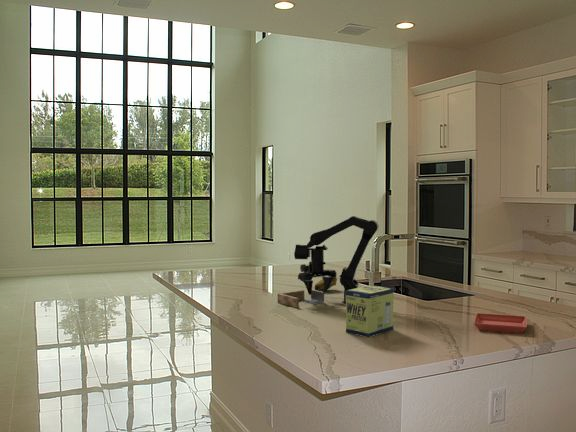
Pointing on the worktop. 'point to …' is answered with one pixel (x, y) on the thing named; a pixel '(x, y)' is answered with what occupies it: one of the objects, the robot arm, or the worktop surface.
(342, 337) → the worktop surface
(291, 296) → the wooden corner frame
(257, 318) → the worktop surface
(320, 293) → the bracket
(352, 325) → the protein box
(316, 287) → the potato
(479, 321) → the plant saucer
